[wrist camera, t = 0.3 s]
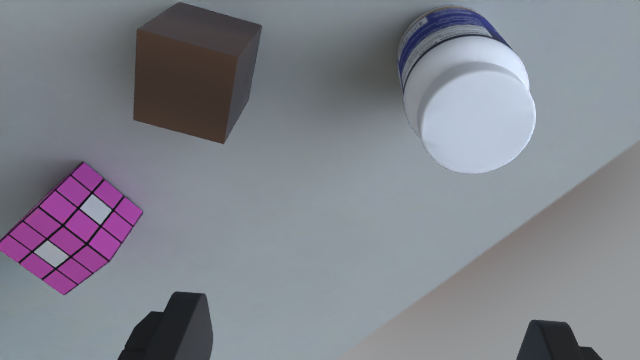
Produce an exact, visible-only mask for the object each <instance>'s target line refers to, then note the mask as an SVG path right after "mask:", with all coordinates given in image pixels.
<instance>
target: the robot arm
mask: <svg viewBox="0 0 640 360" xmlns="http://www.w3.org/2000/svg"><path fill="white" fill-rule="evenodd" d="M212 344H213V331H212V325H211V319H210V314H209V308H208V302H207V297H206V295H205V294H203V293H190V292H174V293H173V294H172V296H171V298H170V300H169V302H168V304H167V306H166V308H165V310H164V312H155V311H151V312H150V313H149V314H148V315H147V316H146V317H145V318H144V319H143V320H142V321H141V322H140V323H138V324H137V325H136V326H135V328H134V329H133V331H132V333H131V335H130V337H129V339H128V341H127V343H126V345H125V349H124V350H122V352H121V354H120V356H119V358H118V360H209V359H210V355H211V351H212ZM517 360H602V359H601V358H600V357H599V355H598V354H597V353H596V352H595V351H594V350H593V349H592V348H591V347H580V346H579V345H578V343H577V341H576V339H575V336H574V334H573V332H572V330H571V328H570V326H569V325H568V324H567V323H566V322H556V321H544V320H532V321H531V322H530V323H529V326H528V328H527V331H526V334H525V337H524V340H523V343H522V345H521V348H520V351H519V353H518V356H517Z"/></svg>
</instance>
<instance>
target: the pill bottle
mask: <svg viewBox="0 0 640 360" xmlns="http://www.w3.org/2000/svg"><path fill="white" fill-rule="evenodd" d="M397 66H398V74H399V80H400V85H401V90H402V97H403V104H404V110H405V114H406V117H407V120H408V122H409V124H410V126H411V128H412V129H413V131H414V132H415V133H416V134H417V136H418V137H419V138H420V139H421V141H422V144H423V146H424V148H425V150H426V151H427V153H428V154H429V155H430V157H431V158H432V159H433V160H434V161H435V162H437V163H438V164H439V165H441V166H443V167H444V168H446V169H449V170H451V171H454V172H459V173H465V174H477V173H484V172H488V171H491V170H494V169H497V168H499V167H501V166H503V165H505V164H507V163H508V162H510V161H511V160H512V159H514V158H515V157H516V156H517V155H518V154H519V153H520V152H521V151H522V150H523V149H524V148H525V146H526V145H527V143H528V142H529V140H530V138H531V136H532V133H533V131H534V127H535V122H536V110H535V104H534V101H533V98H532V96H531V94H530V93H529V80H528V75H527V72H526V69H525V67H524V65H523V63H522V61H521V60H520V58H519V57H518V55H517V54H516V53H515V52H514V51H513V50H512V48H511V47H510V46H509V45H508V44H507V43H506V41H505V40H504V39H503V38H502V37H501V36H500V35H499V33H498V32H497V31H496V30H495V29H494V27H493V26H492V25H491V24H490V23H489V22H488V21H487V20H486V19H485V18H484V17H483V16H482V15H481V14H479V13H478V12H476V11H474V10H472V9H470V8H467V7H462V6H442V7H438V8H435V9H432V10H430V11H428V12H426V13H424V14H423V15H421V16H420V17H418V18H417V19H416V20H415V21H414V22H413V23H412V24H411V25H410V26H409V27H408V29H407V30H406V32H405V33H404V35H403V37H402V39H401V41H400V44H399V48H398V53H397Z"/></svg>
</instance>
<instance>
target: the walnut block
mask: <svg viewBox="0 0 640 360" xmlns="http://www.w3.org/2000/svg"><path fill="white" fill-rule="evenodd" d="M261 29H262V26H261V25H258V24H255V23H251V22H248V21H244V20H241V19H237V18H234V17H230V16H227V15H223V14H220V13H216V12H213V11H209V10H206V9H202V8H199V7H195V6H192V5H188V4H185V3H181V2H179V3H177V4H176V5H174V6H173V7H171V8H170V9H168V10H167V11H165V12H163V13H162V14H160V15H159V16H157V17H156V18H154V19H153V20H151V21H149V22H148V23H146V24H145V25H143V26H142V27H140V28H139V29H137V43H136V67H135V92H134V117H133V119H134V120H136V121H140V122H143V123H147V124H151V125H155V126H158V127H162V128H166V129H169V130H173V131H177V132H181V133H184V134H188V135H192V136H196V137H199V138H203V139H207V140H210V141H214V142H218V143H222V144H224V143H225V141H226V139H227V138H228V136H229V134H230V132H231V130H232V129H233V127H234V125H235V123H236V121H237V120H238V118H239V116H240V114H241V113H242V111H243V109H244V107H245V105H246V104H247V102H248V99H249V94H250V88H251V83H252V77H253V72H254V67H255V61H256V56H257V50H258V45H259V40H260V34H261Z"/></svg>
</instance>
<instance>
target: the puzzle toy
mask: <svg viewBox="0 0 640 360" xmlns="http://www.w3.org/2000/svg"><path fill="white" fill-rule="evenodd" d="M142 214H143V212H142V211H141V210H140V209H139V208H138V207H137V206H135V205H134V204H133V203H132V202H131V201H130V200H128V199H127V198H126V197H124V196H123V195H122V194H121V193H120V192H119V191H118V190H117V189H115V188H114V187H113V186H112V185H111V184H109V183H108V182H107V181H106V180H103V178H102V177H101V176H100V175H99V174H98V173H96V172H95V171H94V170H93V169H92V168H90V167H89V166H88V165H87V164H86V163H84V162H82V163H81V164H79V165H78V166H77V167H76V168H75V169H74V170H73V171H72V172H71V173H70V174H69V175H68V176H66V177H65V178H64V179H63V180H62V181H61V182H60V183H59V184H58V185H57V186H56V187H55V188H53V189H52V190H51V191H50V192H49V193H48V194H47V195H46V196H45V197H44V198H43V199H42V200H41V201H40V202H38V203H37V204H36V205H35V206H34V207H33V208H32V209H31V210H30V211H29V212H28V213H27V214H26V215H25V216H24V217H23V218H22V219H21V220H20V221H19V222H18V223H17V224H16V225H15V226H14V227H13V228H12V229H11V230H10V231H9V232H8V233H7V234H6V235H5V236H4V237H3V238H2V239H1V240H0V251H2V252H3V253H5V254H6V255H7V256H9V257H10V258H12V259H13V260H15V261H16V262H17V263H19V264H20V265H22V266H23V267H24V268H26V269H27V270H29V271H30V272H31V273H33V274H34V275H36V276H37V277H39V278H40V279H42V280H43V281H44V282H46V283H47V284H48V285H50V286H51V287H53V288H54V289H55V290H57V291H58V292H60V293H61V294H63V295H65V294H67V293H68V292H70V291H71V290H72V289H74V288H75V287H76V286H78V285H79V284H80V283H82V282H83V281H85V280H86V279H87V278H89V277H90V276H91V275H93V274H94V273H95V272H97V271H98V270H99V269H101V268H102V267H103V266H105V265H106V264H107V263H109V262H110V261H111V259H112V258H113V256H114V255H115V254H116V252H117V251H118V249H119V248H120V246H121V244H122V243H123V242H124V240H125V239H126V237H127V236H128V234H129V233H130V232H131V230H132V228H133V227H134V226H135V224H136V223H137V221H138V220H139V218H140V217H141V215H142Z"/></svg>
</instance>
